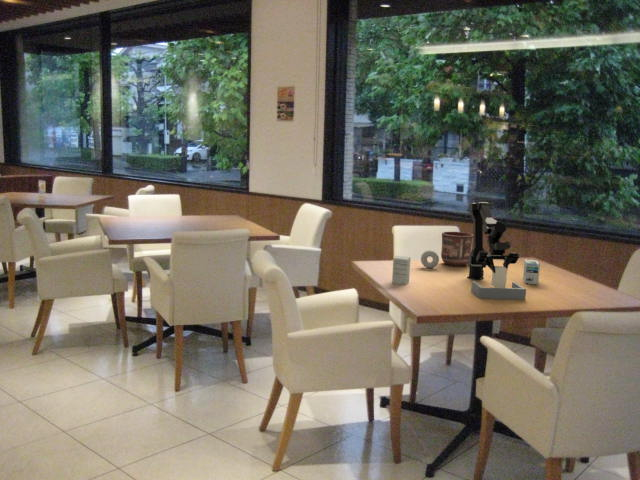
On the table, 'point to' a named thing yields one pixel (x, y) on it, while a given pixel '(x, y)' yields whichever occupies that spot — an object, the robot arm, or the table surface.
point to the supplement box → (401, 270)
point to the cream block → (499, 277)
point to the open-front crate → (499, 292)
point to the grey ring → (431, 254)
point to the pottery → (456, 248)
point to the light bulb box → (531, 271)
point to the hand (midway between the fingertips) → (500, 272)
